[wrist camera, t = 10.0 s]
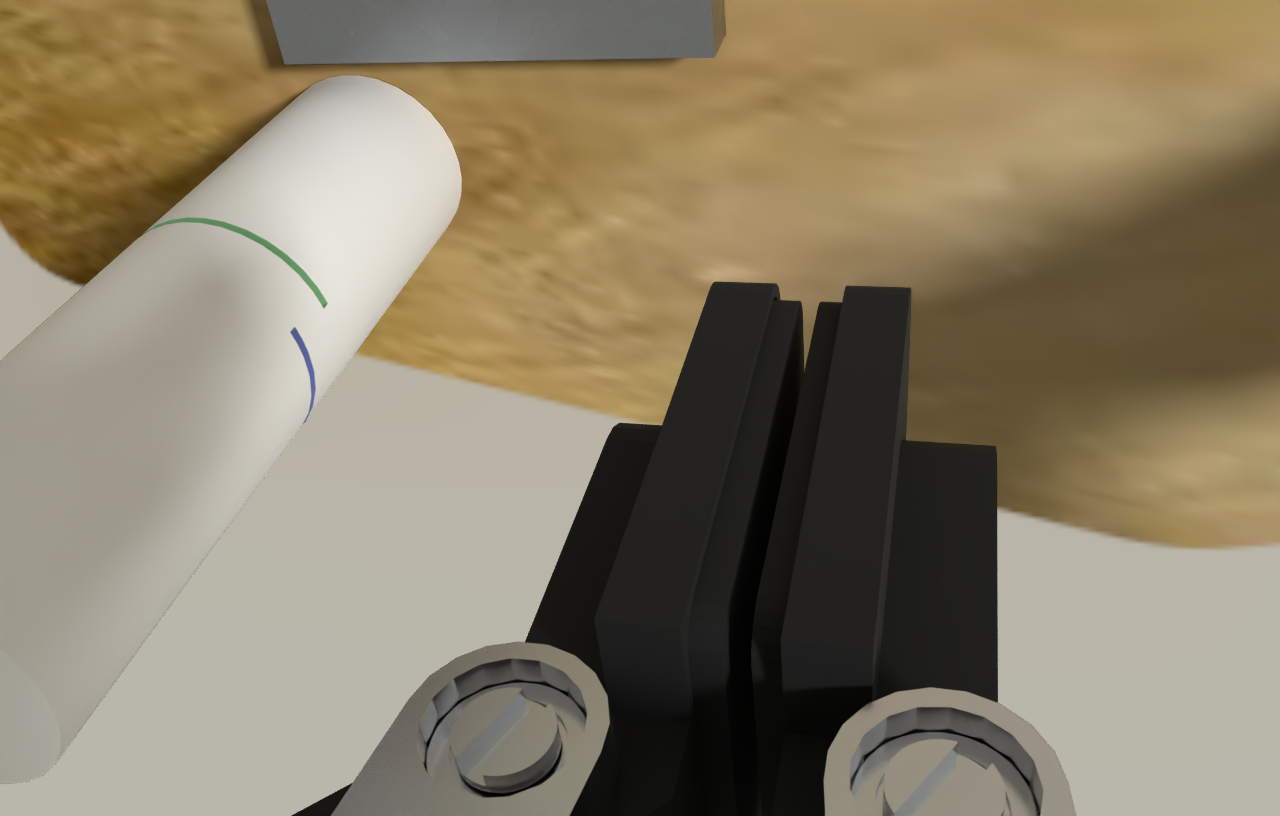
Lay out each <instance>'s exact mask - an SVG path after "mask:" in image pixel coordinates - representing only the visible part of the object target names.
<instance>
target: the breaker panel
mask: <svg viewBox="0 0 1280 816" xmlns="http://www.w3.org/2000/svg"><path fill="white" fill-rule="evenodd" d="M266 2H267V6H268V9H269V12H270V16H271V19H272V23H273V26H274V30H275V33H276V37H277V40H278V43H279V47H280V50H281V54H282V57H283V61H284V64H341V63H403V62H466V61H528V60H590V59H653V58H715V56H716V54H717V52H718V50H719V48H720V46H721V43H722V41H723V39H724V37H725V35H726V30H725V13H724V0H266Z"/></svg>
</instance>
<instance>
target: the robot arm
mask: <svg viewBox="0 0 1280 816" xmlns="http://www.w3.org/2000/svg"><path fill="white" fill-rule="evenodd" d="M910 320H911V288H903V287H871V286H846V287H845V292H844V296H843V302H820V303H819V306H818V311H817V316H816V320H815V325H814V330H813V334H812V339H811V344H810V349H809V353H808V358H807V363H806V368H805V372H804V342H803V311H802V304H801V301H785V300H780V293H779V287H778V285H777V284H774V283H742V282H714V283H713V284H712V286H711V288H710V290H709V293H708V296H707V299H706V302H705V305H704V307H703V310H702V313H701V316H700V319H699V322H698V325H697V327H696V330H695V333H694V336H693V339H692V342H691V345H690V347H689V350H688V353H687V356H686V359H685V362H684V365H683V367H682V370H681V373H680V376H679V379H678V382H677V385H676V387H675V390H674V393H673V396H672V399H671V402H670V405H669V407H668V410H667V413H666V416H665V419H664V422H663V425H646V424H630V423H619V424H617V425H616V426H614V427H613V428H612V431H611V432H610V434H609V436H608V438H607V440H606V442H605V445H604V447H603V450H602V452H601V455H600V457H599V460H598V462H597V465H596V467H595V470H594V472H593V475H592V477H591V480H590V482H589V485H588V487H587V489H586V492H585V495H584V497H583V500H582V502H581V505H580V507H579V510H578V512H577V514H576V517H575V519H574V522H573V524H572V527H571V529H570V532H569V534H568V537H567V539H566V542H565V544H564V546H563V549H562V551H561V554H560V556H559V559H558V562H557V564H556V566H555V569H554V572H553V574H552V576H551V579H550V581H549V584H548V586H547V589H546V591H545V594H544V596H543V599H542V601H541V604H540V606H539V609H538V611H537V614H536V616H535V618H534V621H533V623H532V626H531V628H530V631H529V633H528V636H527V638H526V641H525V642H513V643H506V644H499V645H491V646H486V647H483V648H481V649H478V650H475V651H473V652H470V653H467V654H465V655H462V656H460V657H457V658H455V659H454V660H452V661H451V662H449V663H448V664H447V665H445V666H443V667H442V668H440V669H439V670H438V671H436V672H435V673H433V674H432V675H430V676H429V677H428V678H427V679H426V681H425V682H424V683H423V684H422V685H421V686H420V687H419V689H418V690H417V691H416V692H415V693H414V694H413V695H412V697H410V699H409V700H408V702H407V703H406V704H405V706H404V707H403V709H402V710H401V712H400V713H399V715H398V716H397V718H396V719H395V721H394V722H393V724H392V725H391V727H390V728H389V730H388V731H387V733H386V734H385V736H384V737H383V739H382V740H381V742H380V743H379V745H378V746H377V748H376V749H375V751H374V752H373V754H372V755H371V757H370V758H369V760H368V761H367V763H366V764H365V766H364V767H363V769H362V770H361V772H360V773H359V775H358V776H357V778H356V779H355V781H354V782H353V783H351V784H350V785H348V786H346V787H344V788H342V789H340V790H338V791H337V792H335V793H333V794H331V795H329V796H327V797H325V798H323V799H322V800H320V801H318V802H316V803H314V804H312V805H311V806H309V807H307V808H305V809H303V810H301V811H299V812H297V813H296V814H294V815H292V816H1076V812H1075V808H1074V804H1073V800H1072V795H1071V791H1070V787H1069V783H1068V781H1067V778H1066V776H1065V774H1064V771H1063V769H1062V767H1061V764H1060V762H1059V760H1058V758H1057V755H1056V753H1055V751H1054V750H1053V749H1052V748H1051V746H1050V745H1049V744H1048V743H1047V742H1046V741H1045V739H1044V738H1043V737H1042V736H1041V735H1040V734H1039V732H1038V731H1037V730H1036V729H1035V728H1034V727H1033V726H1032V725H1031V724H1030V723H1028V722H1027V721H1025V720H1024V719H1023V718H1021V717H1020V716H1018V715H1017V714H1015V713H1014V712H1012V711H1011V710H1009V709H1007V708H1006V707H1005V706H1003V705H1002V704H999V703H998V663H997V662H998V650H997V649H998V648H997V647H998V639H997V638H998V637H997V636H998V634H997V632H998V629H997V451H996V446H985V445H968V444H952V443H936V442H920V441H906V424H907V398H908V372H909V346H910Z"/></svg>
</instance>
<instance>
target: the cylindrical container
mask: <svg viewBox="0 0 1280 816" xmlns="http://www.w3.org/2000/svg"><path fill="white" fill-rule="evenodd" d="M461 179H462V177H461V172H460V166H459V161H458V158H457V156H456V153H455V150H454V148H453V145H452V143H451V141H450V140H449V138H448V136H447V134H446V133H445V131H444V129H443V128H442V126H441V125H440V124H439V123H438V122H437V120H436V119H435V118H434V117H433V115H432V114H431V113H430V112H429V111H428V110H427V109H426V108H425V107H423V106H422V105H421V104H420V103H419V102H418V101H417V100H416V99H414V98H413V97H411V96H410V95H408V94H407V93H405V92H403V91H402V90H400V89H398V88H397V87H395V86H392V85H390V84H387V83H385V82H382V81H380V80H378V79H373V78H368V77H363V76H349V75H342V76H337V77H331V78H327V79H324V80H322V81H320V82H318V83H315V84H313V85H312V86H310V87H309V88H308V89H307V90H305V91H304V92H303V93H302V94H300V95H299V96H298V97H297V98H296V99H295V100H294V101H292V102H291V103H290V104H289V105H288V106H287V107H286V108H284V109H283V110H282V111H281V112H280V113H279V114H278V115H277V116H275V117H274V118H273V119H272V120H271V121H270V122H269V123H268V124H266V125H265V126H264V127H263V128H262V129H261V130H260V131H259V132H257V133H256V134H255V135H254V136H253V137H252V138H251V139H249V140H248V141H247V142H246V143H245V144H244V145H243V146H242V147H240V148H239V149H238V150H237V151H236V152H235V153H234V154H233V155H231V156H230V157H229V158H228V159H227V160H226V161H225V162H224V163H222V164H221V165H220V166H219V167H218V168H217V169H216V170H214V171H213V172H212V173H211V174H210V175H209V176H208V177H207V178H205V179H204V180H203V181H202V182H201V183H200V184H199V185H198V186H196V187H195V188H194V189H193V190H192V191H191V192H190V193H189V194H187V195H186V196H185V197H184V198H183V199H182V200H181V201H179V202H178V203H177V204H176V205H175V206H174V207H173V208H172V209H170V210H169V211H168V212H167V213H166V214H165V215H164V216H163V217H161V218H160V219H159V220H158V221H157V222H156V223H155V224H154V225H152V226H151V227H150V228H149V229H148V230H147V231H146V232H144V233H143V234H142V235H141V237H139V238H138V239H137V240H135V241H134V242H133V243H132V244H131V245H130V246H129V247H128V248H126V249H125V250H124V251H123V252H122V253H121V254H120V255H119V256H117V257H116V258H115V259H114V260H113V261H112V262H111V263H110V264H108V265H107V266H106V267H105V268H104V269H103V270H102V271H101V272H99V273H98V274H97V275H96V276H95V277H94V278H93V279H92V280H90V281H89V282H88V283H87V284H86V285H85V286H84V287H83V288H81V289H80V290H79V291H78V292H77V293H76V294H75V295H74V296H72V297H71V299H69V300H68V301H67V302H66V303H65V304H64V305H62V306H61V307H60V308H59V309H58V310H57V311H56V312H54V313H53V314H52V315H51V316H50V317H49V318H48V319H47V320H45V322H43V323H42V324H41V325H40V326H39V327H38V328H37V329H35V330H34V331H33V332H32V333H31V334H30V335H29V336H28V337H26V338H25V339H24V340H23V341H22V342H21V343H20V344H18V345H17V346H16V347H15V348H14V349H13V350H12V351H11V352H9V354H7V355H6V356H5V357H4V358H3V359H2V360H1V361H0V784H13V783H22V782H28V781H31V780H33V779H36V778H38V777H41V776H43V775H45V774H46V773H47V772H48V771H49V770H50V769H51V768H52V767H53V766H54V765H55V764H56V763H57V761H58V760H59V759H60V758H61V756H62V755H63V753H64V752H65V751H66V749H67V748H68V746H69V745H70V744H71V742H72V741H73V740H74V738H75V737H76V735H77V734H78V733H79V731H80V730H81V729H82V727H83V726H84V724H85V723H86V722H87V720H88V719H89V717H90V716H91V715H92V713H93V712H94V711H95V709H96V708H97V706H98V705H99V704H100V702H101V701H102V699H103V698H104V697H105V695H106V694H107V693H108V691H109V690H110V688H111V687H112V686H113V684H114V683H115V682H116V680H117V679H118V677H119V676H120V675H121V673H122V672H123V671H124V669H125V668H126V666H127V665H128V664H129V662H130V661H131V660H132V658H133V657H134V655H135V654H136V653H137V651H138V650H139V648H140V647H141V646H142V644H143V643H144V642H145V640H146V639H147V637H148V636H149V635H150V633H151V632H152V630H153V629H154V628H155V626H156V625H157V624H158V622H159V621H160V619H161V618H162V617H163V615H164V614H165V613H166V611H167V610H168V608H169V607H170V606H171V604H172V603H173V602H174V600H175V599H176V597H177V596H178V595H179V593H180V592H181V590H182V589H183V588H184V586H185V585H186V584H187V582H188V581H189V579H190V578H191V577H192V575H193V574H194V573H195V571H196V570H197V569H198V567H199V566H200V565H201V563H202V562H203V560H204V559H205V558H206V556H207V555H208V553H209V552H210V551H211V550H212V548H213V547H214V545H215V544H216V543H217V541H218V540H219V539H220V537H221V536H222V535H223V533H224V532H225V531H226V529H227V528H228V526H229V525H230V524H231V522H232V521H233V520H234V518H235V517H236V516H237V514H238V513H239V511H240V510H241V509H242V507H243V506H244V505H245V503H246V502H247V501H248V499H249V498H250V497H251V495H252V494H253V492H254V491H255V490H256V488H257V487H258V486H259V484H260V483H261V481H262V480H263V479H264V477H265V476H266V475H267V473H268V472H269V471H270V469H271V468H272V466H273V465H274V464H275V462H276V461H277V460H278V458H279V457H280V456H281V454H282V453H283V452H284V450H285V449H286V447H287V446H288V445H289V444H290V442H291V441H292V439H293V438H294V437H295V435H296V434H297V433H298V431H299V430H300V429H301V427H302V425H303V424H304V423H305V422H306V420H307V419H308V418H309V416H310V415H311V413H312V412H313V411H314V409H315V408H316V406H317V405H318V404H319V402H320V401H321V400H322V398H323V397H324V395H325V394H326V393H327V391H328V390H329V389H330V387H331V386H332V384H333V383H334V382H335V380H336V379H337V377H338V376H339V375H340V373H341V372H342V371H343V369H344V368H345V366H346V365H347V364H348V362H349V361H350V359H351V358H352V357H353V355H354V354H355V353H356V351H357V350H358V348H359V347H360V346H361V344H362V343H363V341H364V340H365V339H366V337H367V336H368V335H369V333H370V332H371V330H372V329H373V328H374V326H375V325H376V323H377V322H378V321H379V319H380V318H381V317H382V315H383V314H384V313H385V311H386V310H387V308H388V307H389V306H390V304H391V303H392V302H393V300H394V299H395V298H396V296H397V295H398V294H399V292H400V291H401V289H402V288H403V287H404V285H405V284H406V283H407V281H408V280H409V279H410V277H411V276H412V275H413V273H414V272H415V270H416V269H417V268H418V266H419V265H420V264H421V262H422V261H423V260H424V258H425V257H426V256H427V254H428V253H429V251H430V250H431V249H432V247H433V246H434V245H435V243H436V242H437V241H438V239H439V238H440V237H441V235H442V234H443V232H444V231H445V230H446V228H447V227H448V226H449V224H450V223H451V221H452V219H453V217H454V215H455V213H456V211H457V210H458V206H459V201H460V197H461Z"/></svg>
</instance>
